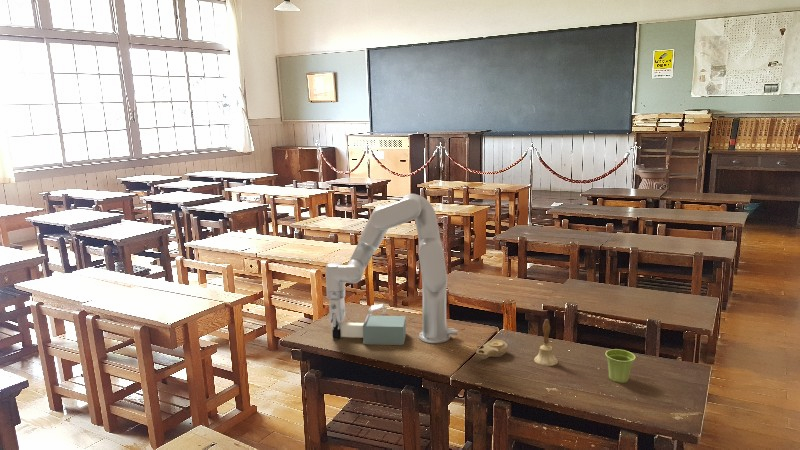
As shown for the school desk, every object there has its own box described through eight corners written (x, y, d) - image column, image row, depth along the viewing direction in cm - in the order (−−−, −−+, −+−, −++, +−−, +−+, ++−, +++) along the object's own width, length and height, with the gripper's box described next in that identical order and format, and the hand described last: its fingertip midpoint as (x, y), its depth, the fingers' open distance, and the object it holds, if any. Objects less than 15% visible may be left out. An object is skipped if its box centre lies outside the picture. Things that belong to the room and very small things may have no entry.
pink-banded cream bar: (364, 334, 227) (364, 322, 226) (363, 337, 224) (363, 325, 223) (333, 333, 228) (333, 322, 227) (332, 336, 225) (331, 324, 224)
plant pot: (640, 383, 184) (641, 358, 182) (615, 387, 181) (617, 362, 180) (621, 371, 193) (622, 347, 191) (598, 374, 190) (599, 351, 189)
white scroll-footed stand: (370, 312, 256) (370, 302, 255) (388, 313, 253) (387, 303, 252) (361, 321, 244) (361, 310, 243) (379, 323, 242) (379, 312, 241)
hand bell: (544, 367, 196) (546, 325, 193) (529, 359, 203) (530, 318, 200) (562, 362, 200) (564, 321, 197) (546, 354, 207) (548, 314, 204)
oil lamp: (474, 362, 202) (474, 349, 201) (482, 347, 215) (482, 335, 214) (503, 366, 198) (503, 353, 197) (510, 351, 211) (510, 338, 210)
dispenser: (405, 333, 230) (405, 314, 228) (403, 344, 218) (403, 325, 216) (367, 332, 231) (367, 314, 230) (363, 344, 219) (362, 324, 218)
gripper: (341, 300, 214) (343, 344, 218) (348, 287, 230) (350, 329, 234) (322, 299, 215) (324, 344, 218) (330, 287, 231) (332, 328, 234)
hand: (337, 336), depth 226 cm, fingers closed on pink-banded cream bar, 3 cm apart
